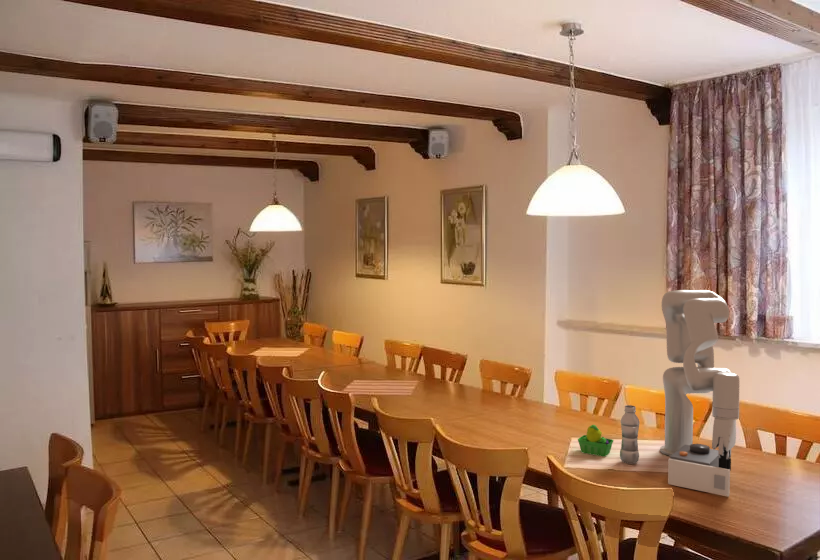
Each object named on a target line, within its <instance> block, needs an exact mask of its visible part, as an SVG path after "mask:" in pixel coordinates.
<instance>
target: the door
mask: <svg viewBox="0 0 820 560" xmlns="http://www.w3.org/2000/svg"><path fill="white" fill-rule="evenodd" d="M667 462H668V466H667V468H668V471H667V484H668V485H671V486H675V487H676V486H677V487H680V488H686V489H690V490H695V491H699V492H706V493H710V494H715V495H719V496H724V497H730V493H731V492H730V488H731V487H730V484H731V483H730V482H731V471H730V469H725V468H719V467H714V466H708V465H703V464H698V463H692V462H687V461H682V460H676V459H671V458H670V457H669V458H668V460H667Z"/></svg>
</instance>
